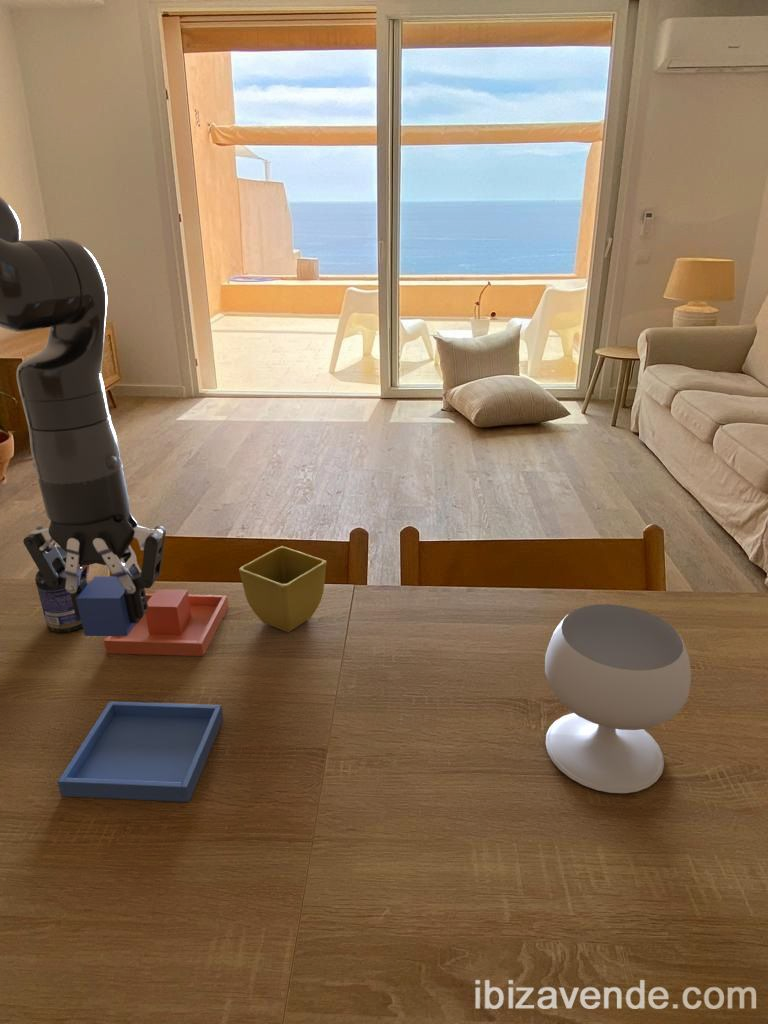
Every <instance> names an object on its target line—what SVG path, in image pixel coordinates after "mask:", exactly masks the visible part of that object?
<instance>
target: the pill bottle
mask: <svg viewBox="0 0 768 1024" xmlns="http://www.w3.org/2000/svg"><path fill="white" fill-rule="evenodd" d="M56 548H57V549H58V551H59V553H60V555H61V557H62V558H63V560H64V562H65V564H66V558H67V552H66V551H65V550H64V549H63V548H62V547H60V546H56ZM34 580H35V586H36V587H37V588H36V589H37V592H38V596H39V602H40V604H41V608H42V613H43V616H44V620H45V624H46V626H47V628H48V629H49V630H51V631H52V632H55V633H63V634H64V633H71V632H74V631H75V632H76V631H78V630H80V629H83V626H82V622H81V618H78V617H77V616H76V614H75V611H74V607H73V603H72V599H71V595H70V593H69V592H67V591H66V589H65V588H62V587H57V588H51V587H49V586H48V584H47V583H46V581H45V579H44V578H43V576H42V574H41V572H40V571H39V570H38V571H37V572H36V574H35V577H34Z"/></svg>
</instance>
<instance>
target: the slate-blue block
mask: <svg viewBox="0 0 768 1024" xmlns="http://www.w3.org/2000/svg"><path fill="white" fill-rule="evenodd" d="M88 583H89V584H88V585H87V586H86V587H85V588H84V590H83V591H82V592H81V593H80V594H79V595H78V596H77V598H76V602H77V606H78V610H79V614H80V618H81V622H82V626H83V627H82V631H83V634H84V637H107V636H128V634H129V633H130V632H131V630H132V629H133V627H134V626H135V624H136V623H130V620H129V616H128V611H127V606H126V601H125V596H124V594H125V590H124V588H123V587H122V585H121V583H120V581H119V580H118V578H117V577H114V576H113V575H112V576H110V575H109V576H108V575H107V576H106V575H105V576H103V575H101V576H99V575H98V576H97V575H96V576H94V577H93V578H92V579H91V581H89V582H88Z"/></svg>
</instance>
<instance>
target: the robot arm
mask: <svg viewBox="0 0 768 1024" xmlns="http://www.w3.org/2000/svg"><path fill="white" fill-rule="evenodd" d="M21 235H22V228H21V223H20V220H19V218H18V216H17V214H16V212H15V211H14V209H13V208H12V207H11V205H9V204H8V202H7V201H6V200H5V199H4V198H2V197H1V196H0V328H1V329H4V330H6V331H9V332H14V333H15V332H19V333H22V332H23V333H24V332H30V331H35V330H41V329H46V328H47V329H48V328H49V330H48V335H47V336H48V337H47V341H46V344H45V346H44V347H43V348H42V349H41V350H40V351H39V352H37V353H36V354H33V355H32V356H29V357H28V358H26V359H24V360H23V361H21V363H20V364H19V365H18V367H17V369H16V382H17V387H18V392H19V395H20V399H21V403H22V408H23V411H24V415H25V419H26V424H27V429H28V433H29V434H28V435H29V446H30V453H31V458H32V464H33V467H34V470H35V474H36V477H37V481H38V485H39V489H40V493H41V498H42V502H43V505H44V509H45V513H46V517H47V518H48V519H49V521H50V523H49V525H48V527H44V526H37V527H36V528H35V529H33V530H32V531H30V532H29V534H27V535H26V537H24V538H23V540H22V542H23V545H24V547H25V548H26V550H27V552H28V553H29V555H30V557H31V559H32V561H33V563H34V564H35V565H36V567H37V569H38V571H40V572H41V574H42V576H43V578H44V579H45V581H46V583H47V584H48V586H49V587H51V588H57V587H62V588H65V589H66V591H67V592H69V593H70V595H71V599H72V603H73V607H74V611H75V614H76V616H77V617H78V618H80V614H79V610H78V606H77V602H76V598H77V596H78V595H79V594H80V593H81V592H82V591H83V590H84V588H85V587H86V586H87V585H88V584H89V583H90V582H88V581H87V580H88V578H89V572H90V571H89V570H90V565H91V566H92V565H94V564H98V565H102V566H106V567H107V569H108V570H109V572H110V574H111V575H112V576H114V577H117V578H118V580H119V581H120V583H121V585H122V587H123V588H124V590H125V594H124V596H125V601H126V606H127V611H128V616H129V620H130V623H139V621H140V620H141V618H142V617H143V616H144V614H145V613H146V611H147V609H148V604H147V599H146V594H145V593H146V589H150V588H151V587H152V586H153V585H154V583H155V582H156V581H157V579H158V578H159V576H160V575H161V571H162V564H163V557H164V550H165V542H166V534H167V531H166V529H165V528H164V526H162V525H156V526H155V527H154V528H153V529H152V528H148V527H146V526H145V527H144V526H141V525H138V521H137V520H136V519H135V518H134V517H133V515H132V513H131V506H130V498H129V492H128V487H127V482H126V476H125V472H124V471H125V470H124V467H123V461H122V455H121V451H120V446H119V441H118V437H117V433H116V430H115V428H114V425H113V422H112V417H111V414H110V408H109V403H108V398H107V393H106V388H105V384H104V379H103V373H102V372H103V371H102V370H103V361H104V349H105V334H106V321H107V309H108V294H107V286H106V282H105V278H104V275H103V272H102V270H101V267H100V265H99V263H98V262H97V260H96V258H95V257H94V255H93V254H92V253H91V252H90V251H89V250H88V248H87V247H85V246H84V245H82V244H81V243H80V242H78V241H76V240H73V239H70V238H59V237H58V238H46V239H45V238H43V239H30V240H21ZM134 539H135V540H136V541H137V542H138V547H139V550H140V551H141V552H143V556H142V564H141V567H140V566H139V564H138V561H137V559H138V558H137V555H136V553H135V551H134V549H133V548H132V546H131V543H132V542H133V540H134ZM56 544H57V545H58V547H62V548H63V549H64V550H65V551H66V552H67V558H66V564H65V562H64V560H63V558H62V557H61V555H60V553H59V551H58V549H57V548H56V547H57V546H56Z"/></svg>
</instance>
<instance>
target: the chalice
mask: <svg viewBox="0 0 768 1024" xmlns="http://www.w3.org/2000/svg"><path fill="white" fill-rule="evenodd" d="M687 650H688V649H687V647H686V645H685V642H684V640H683V638H682V637H681V635H680V633H678V631H677V629H675V628H674V627H673V626H672V625H671V624H669V622H668V621H666V620H664V619H662V618H661V617H659V616H658V615H655V614H653V613H651V612H648V611H645V610H642V609H639V608H636V607H632V606H627V605H622V604H613V603H611V604H610V603H601V604H600V603H599V604H597V603H596V604H590V605H585V606H581V607H579V608H576V609H574V610H573V611H571V612H569V613H568V614H567V615H566V616H564V618H563V619H562V620H561V621H560V622H559V623H558V625H557V626H556V628H555V630H554V631H553V633H552V636H551V638H550V641H549V643H548V646H547V648H546V652H545V655H544V673H545V676H546V680H547V683H548V685H549V688H550V690H551V691H552V693H553V694H554V695H555V697H556V698H557V700H558V701H559V702H561V704H562V705H563V706H564V707H565V708H566V709H567V710H568V711H570V712H572V713H567V714H565V715H563V716H561V717H560V718H558V719H556V720H555V721H554V722H553V723H552V724H551V725H550V726H549V728H548V730H547V732H546V734H545V747H546V751H547V754H548V756H549V757H550V759H551V761H552V763H553V764H554V765H555V766H556V767H557V768H558V770H560V771H561V772H562V773H563V774H564V775H565V776H566V777H568V778H569V779H571V780H573V781H575V782H577V783H578V784H580V785H582V786H585V787H587V788H590V789H593V790H596V791H598V792H599V791H600V792H603V793H604V792H605V793H610V794H629V793H636V792H640V791H642V790H645V789H647V788H649V787H651V786H652V785H654V784H655V783H656V782H657V781H658V780H659V778H660V777H661V775H662V774H663V772H664V771H663V770H664V768H665V759H664V754H663V752H662V749H661V747H660V745H659V744H658V743H657V741H656V740H655V738H653V736H652V735H651V734H650V733H649V732H647V731H646V730H647V729H651V728H655V727H657V726H660V725H663V724H664V723H666V722H668V721H670V720H671V719H673V718H674V717H675V716H677V715H678V714H679V712H680V711H681V710H682V709H683V708H684V706H685V704H686V703H687V701H688V699H689V695H690V692H691V682H692V681H691V680H692V671H691V670H692V669H691V662H690V656H689V654H688V653H689V652H688V651H687Z"/></svg>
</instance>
